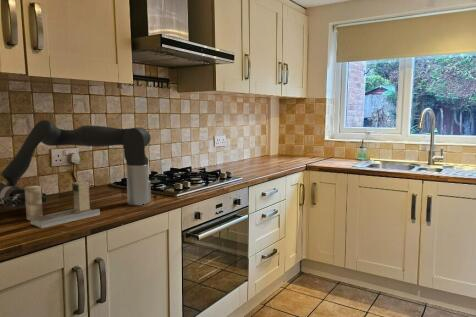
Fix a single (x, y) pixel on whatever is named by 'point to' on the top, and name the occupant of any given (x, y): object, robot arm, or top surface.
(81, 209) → the rail
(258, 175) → the top surface
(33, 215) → the beige tall rectangular block
